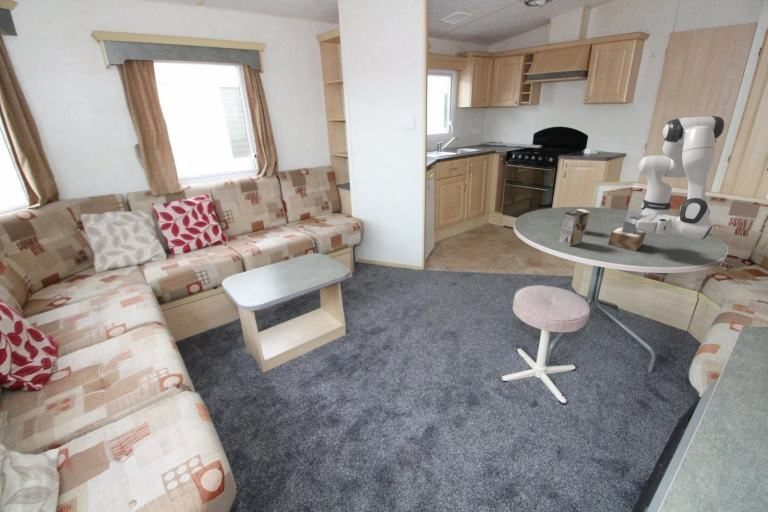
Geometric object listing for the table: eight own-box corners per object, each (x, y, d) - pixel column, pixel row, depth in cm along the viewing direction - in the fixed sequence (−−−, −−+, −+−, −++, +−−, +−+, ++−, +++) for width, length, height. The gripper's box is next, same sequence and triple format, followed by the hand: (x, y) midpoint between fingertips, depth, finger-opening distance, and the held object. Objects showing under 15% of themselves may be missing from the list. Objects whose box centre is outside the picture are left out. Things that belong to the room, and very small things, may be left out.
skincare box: (571, 229, 202) (575, 208, 197) (578, 229, 202) (583, 208, 197) (577, 233, 196) (582, 212, 191) (585, 233, 196) (590, 212, 191)
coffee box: (570, 239, 188) (576, 209, 182) (581, 243, 183) (588, 213, 177) (558, 242, 185) (564, 212, 178) (569, 246, 179) (576, 215, 173)
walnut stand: (642, 244, 181) (646, 231, 179) (635, 251, 174) (639, 237, 171) (615, 238, 189) (619, 226, 187) (608, 244, 182) (611, 231, 179)
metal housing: (636, 231, 179) (642, 210, 174) (633, 234, 176) (639, 212, 171) (624, 229, 182) (630, 208, 178) (621, 231, 179) (627, 210, 174)
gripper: (671, 213, 173) (638, 207, 182) (661, 222, 160) (626, 215, 169) (667, 225, 175) (635, 219, 184) (657, 236, 162) (622, 228, 172)
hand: (630, 217), depth 177 cm, fingers open, 8 cm apart
